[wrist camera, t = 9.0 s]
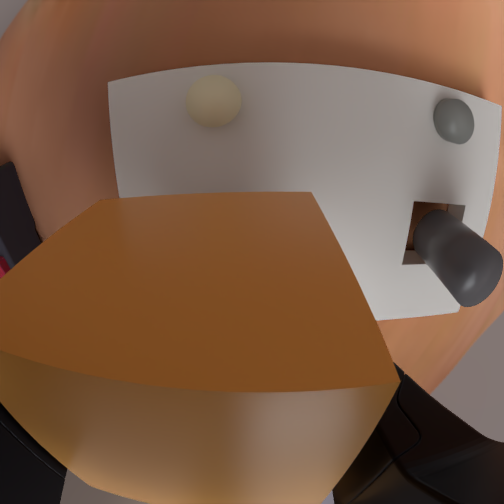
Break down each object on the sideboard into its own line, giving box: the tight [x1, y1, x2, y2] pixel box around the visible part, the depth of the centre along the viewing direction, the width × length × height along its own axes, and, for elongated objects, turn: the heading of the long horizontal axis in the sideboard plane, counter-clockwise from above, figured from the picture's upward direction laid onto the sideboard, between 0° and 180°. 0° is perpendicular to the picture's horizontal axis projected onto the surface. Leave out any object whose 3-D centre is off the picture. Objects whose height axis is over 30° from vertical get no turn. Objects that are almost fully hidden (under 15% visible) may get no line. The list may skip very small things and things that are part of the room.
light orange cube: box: [0, 192, 401, 504], centre depth 6 cm, size 6×6×6 cm
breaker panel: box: [108, 62, 502, 320], centre depth 12 cm, size 12×18×2 cm, turn 92°
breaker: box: [413, 209, 503, 307], centre depth 10 cm, size 3×3×4 cm
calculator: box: [0, 162, 41, 279], centre depth 15 cm, size 11×4×15 cm
